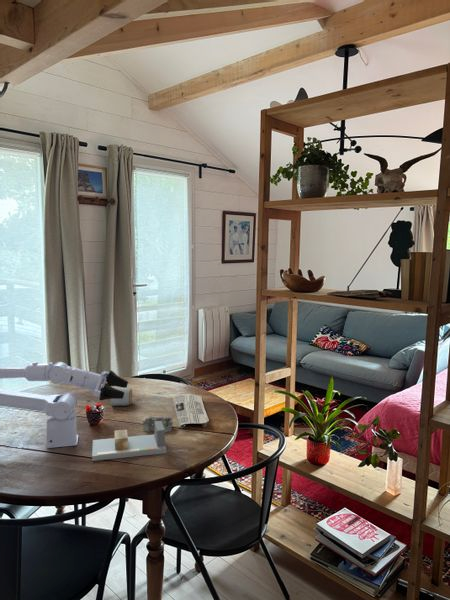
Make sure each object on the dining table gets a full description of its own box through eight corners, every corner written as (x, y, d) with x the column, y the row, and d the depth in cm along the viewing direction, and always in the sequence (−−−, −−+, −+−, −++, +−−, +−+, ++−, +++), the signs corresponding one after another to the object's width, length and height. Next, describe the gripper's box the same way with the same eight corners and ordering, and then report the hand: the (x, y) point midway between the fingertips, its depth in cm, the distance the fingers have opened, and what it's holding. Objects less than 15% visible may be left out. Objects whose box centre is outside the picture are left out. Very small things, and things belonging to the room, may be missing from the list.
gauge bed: (92, 460, 136) (91, 439, 135) (92, 444, 147) (92, 424, 147) (166, 453, 142) (166, 432, 141) (161, 437, 154) (161, 418, 153)
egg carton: (141, 432, 159) (141, 421, 158) (146, 424, 166) (146, 414, 166) (170, 433, 158) (170, 422, 157) (174, 425, 165) (174, 415, 165)
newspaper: (172, 399, 195) (172, 391, 195) (200, 398, 197) (200, 390, 197) (179, 431, 161) (179, 422, 160) (213, 429, 163) (213, 420, 163)
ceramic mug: (130, 407, 182) (130, 389, 182) (110, 408, 181) (110, 390, 181) (133, 399, 193) (133, 382, 192) (114, 400, 192) (114, 382, 191)
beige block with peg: (115, 452, 138) (115, 441, 138) (114, 440, 147) (114, 430, 146) (128, 451, 139) (128, 440, 139) (126, 439, 148) (126, 429, 147)
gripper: (83, 379, 139) (125, 390, 141) (93, 360, 153) (131, 370, 155) (78, 398, 141) (119, 408, 143) (89, 377, 155) (126, 387, 157)
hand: (125, 390), depth 149 cm, fingers open, 7 cm apart
